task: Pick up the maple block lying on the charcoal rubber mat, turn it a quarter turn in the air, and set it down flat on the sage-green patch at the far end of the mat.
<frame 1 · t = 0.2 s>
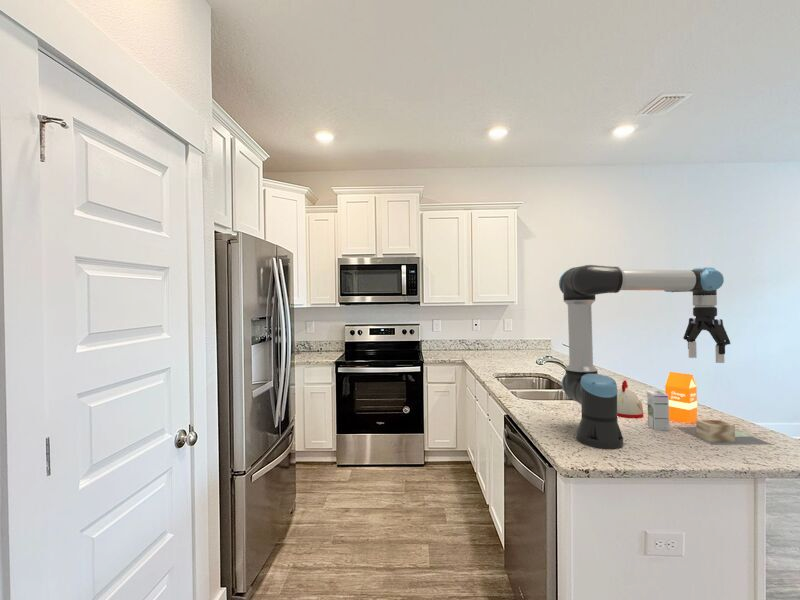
hand: (705, 360, 152), 27 cm above the countertop, tool pointing down, fingers open, 13 cm apart
syrup box: (658, 429, 153), on the countertop
rubber mat: (720, 436, 144), on the countertop
maple block: (715, 439, 140), resting on rubber mat
kitchen timer: (625, 414, 174), on the countertop
orange juice: (681, 420, 164), on the countertop
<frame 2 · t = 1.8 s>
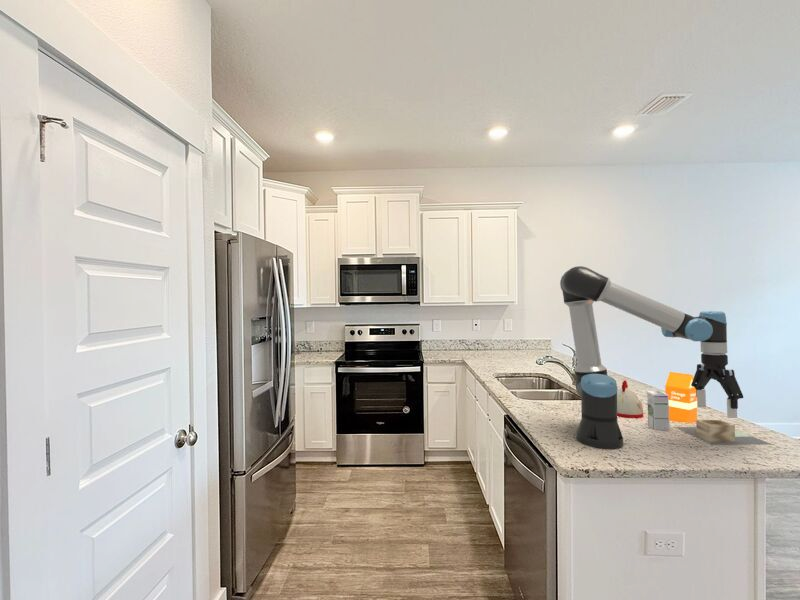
hand: (716, 412, 140), 10 cm above the countertop, tool pointing down, fingers open, 13 cm apart
nothing on the countertop moved.
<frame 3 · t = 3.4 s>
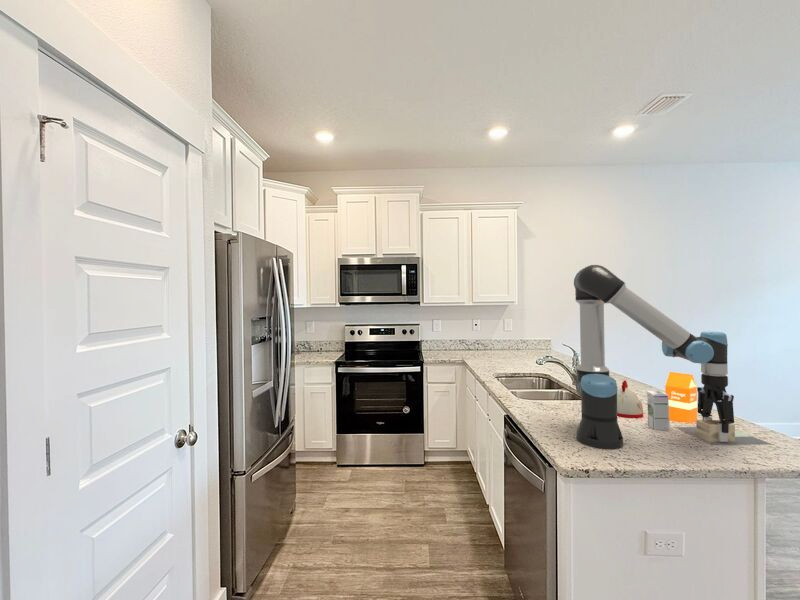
hand: (715, 437, 140), 1 cm above the countertop, tool pointing down, fingers closed on maple block, 6 cm apart
maple block: (715, 439, 140), point 1 cm above the countertop, touching gripper, rubber mat
everything else where it was.
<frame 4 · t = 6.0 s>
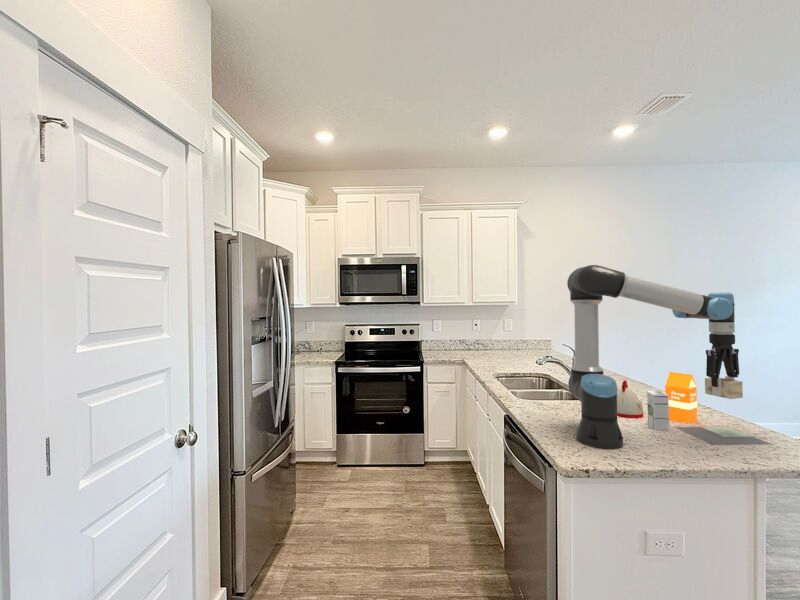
hand: (723, 394, 145), 15 cm above the countertop, tool pointing down, fingers closed on maple block, 6 cm apart
maple block: (723, 395, 145), point 15 cm above the countertop, touching gripper
everything else where it was.
when the fingers open (2 cm above the countertop, at t = 8.6 s): maple block drops 1 cm, resting on rubber mat.
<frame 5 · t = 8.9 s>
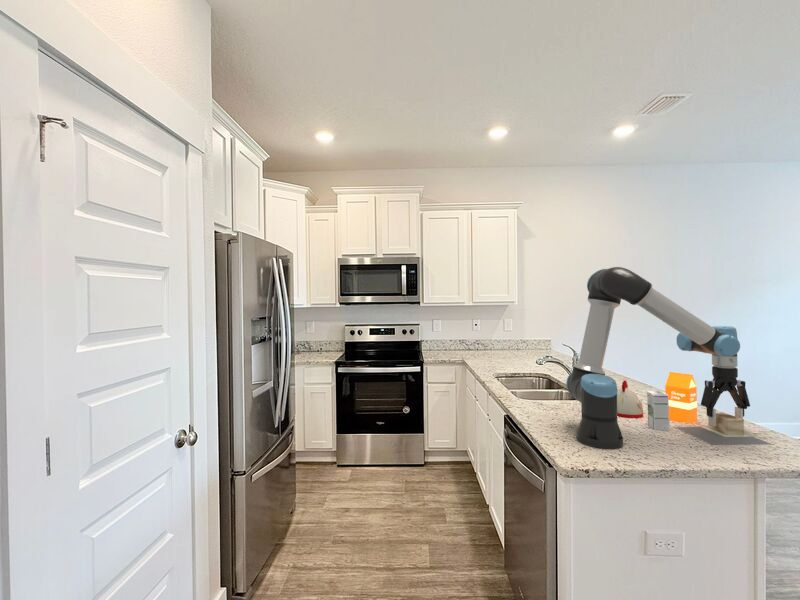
hand: (725, 425, 147), 3 cm above the countertop, tool pointing down, fingers open, 9 cm apart
maple block: (725, 431, 147), point 1 cm above the countertop, touching rubber mat
everything else where it was.
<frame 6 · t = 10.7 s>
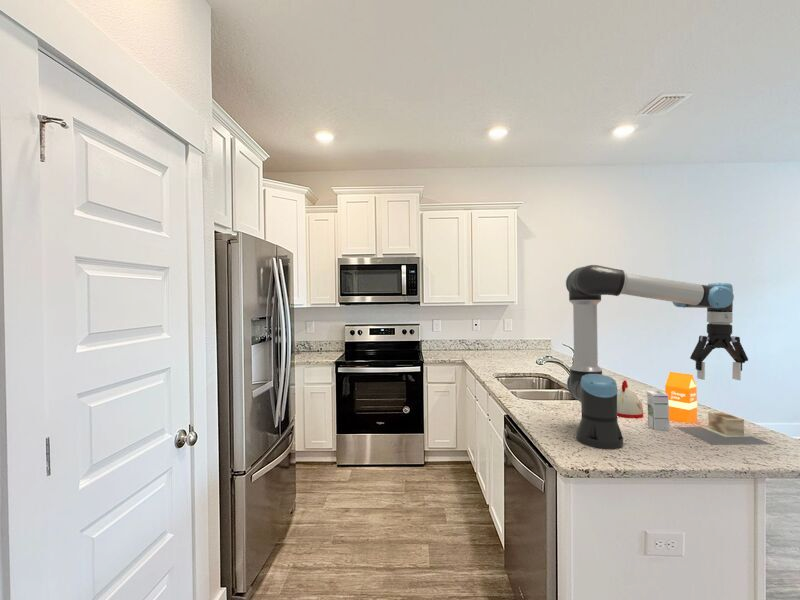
hand: (718, 379, 147), 21 cm above the countertop, tool pointing down, fingers open, 13 cm apart
nothing on the countertop moved.
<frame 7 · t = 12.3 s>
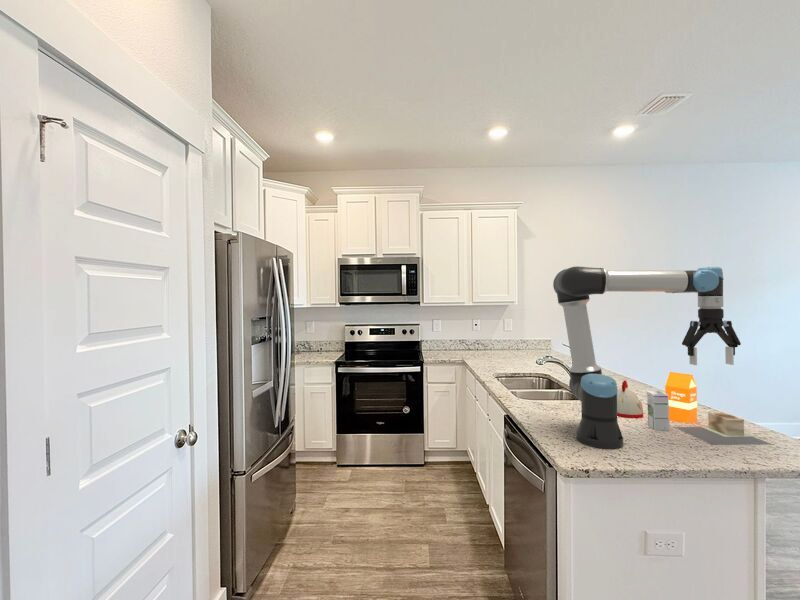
hand: (711, 364, 145), 27 cm above the countertop, tool pointing down, fingers open, 13 cm apart
nothing on the countertop moved.
at the end: maple block 0.0 cm from the target spot, point 0.6 cm above the countertop; maple block tilted 0°; the gripper is holding nothing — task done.
